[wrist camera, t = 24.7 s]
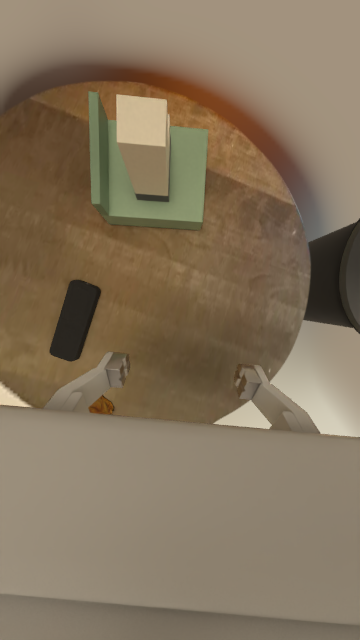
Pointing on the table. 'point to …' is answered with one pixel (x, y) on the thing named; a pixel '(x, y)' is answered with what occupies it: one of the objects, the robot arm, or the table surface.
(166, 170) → the beige stepped block
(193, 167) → the green l-shaped bracket
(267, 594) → the robot arm
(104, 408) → the leaf
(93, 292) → the remote control
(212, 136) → the table surface
